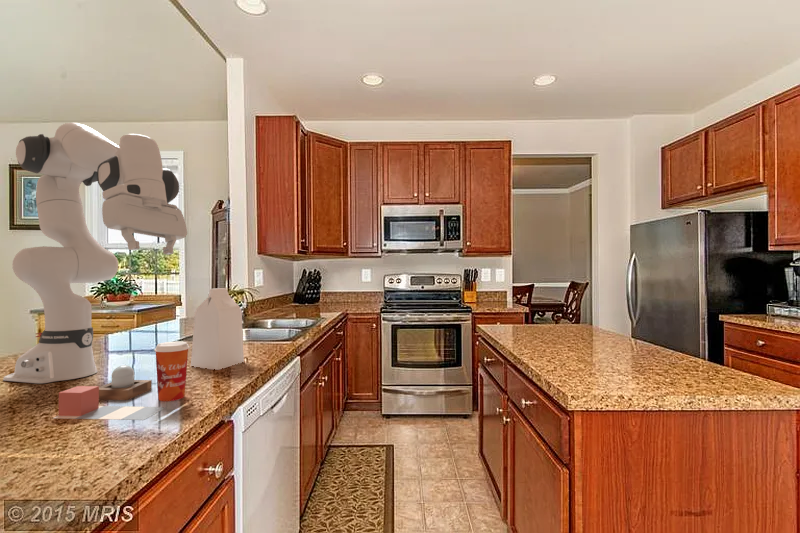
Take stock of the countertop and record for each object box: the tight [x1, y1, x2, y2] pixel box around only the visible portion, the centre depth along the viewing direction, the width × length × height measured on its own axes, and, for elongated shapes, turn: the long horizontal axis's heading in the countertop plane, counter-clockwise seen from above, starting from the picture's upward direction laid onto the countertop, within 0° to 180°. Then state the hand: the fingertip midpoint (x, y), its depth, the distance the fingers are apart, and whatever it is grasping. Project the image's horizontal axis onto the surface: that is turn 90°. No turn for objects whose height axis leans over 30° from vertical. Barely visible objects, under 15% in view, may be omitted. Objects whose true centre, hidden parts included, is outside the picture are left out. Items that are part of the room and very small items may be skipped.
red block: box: [57, 385, 100, 416], centre depth 91 cm, size 5×5×5 cm
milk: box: [190, 287, 245, 371], centre depth 140 cm, size 12×12×26 cm
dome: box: [111, 364, 135, 388], centre depth 104 cm, size 5×5×6 cm
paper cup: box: [153, 340, 191, 402], centre depth 101 cm, size 8×8×14 cm
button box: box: [99, 379, 153, 401], centre depth 104 cm, size 9×9×3 cm
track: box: [53, 405, 167, 421], centre depth 91 cm, size 20×8×1 cm, turn 88°
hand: (152, 251), depth 98 cm, fingers open, 8 cm apart
